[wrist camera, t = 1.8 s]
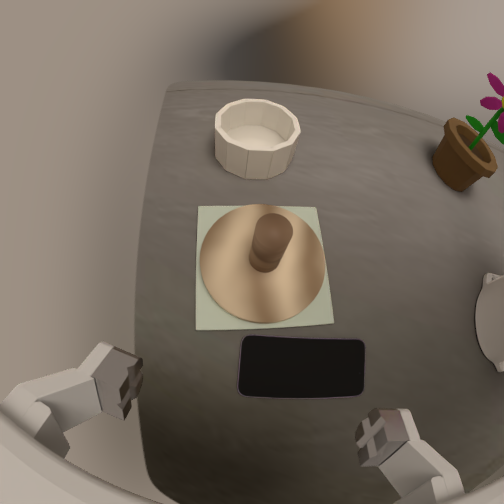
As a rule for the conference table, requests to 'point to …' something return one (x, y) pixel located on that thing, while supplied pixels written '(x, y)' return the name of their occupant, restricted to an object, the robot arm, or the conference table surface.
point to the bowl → (255, 138)
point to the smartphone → (301, 367)
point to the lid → (262, 263)
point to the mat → (219, 319)
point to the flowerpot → (470, 145)
